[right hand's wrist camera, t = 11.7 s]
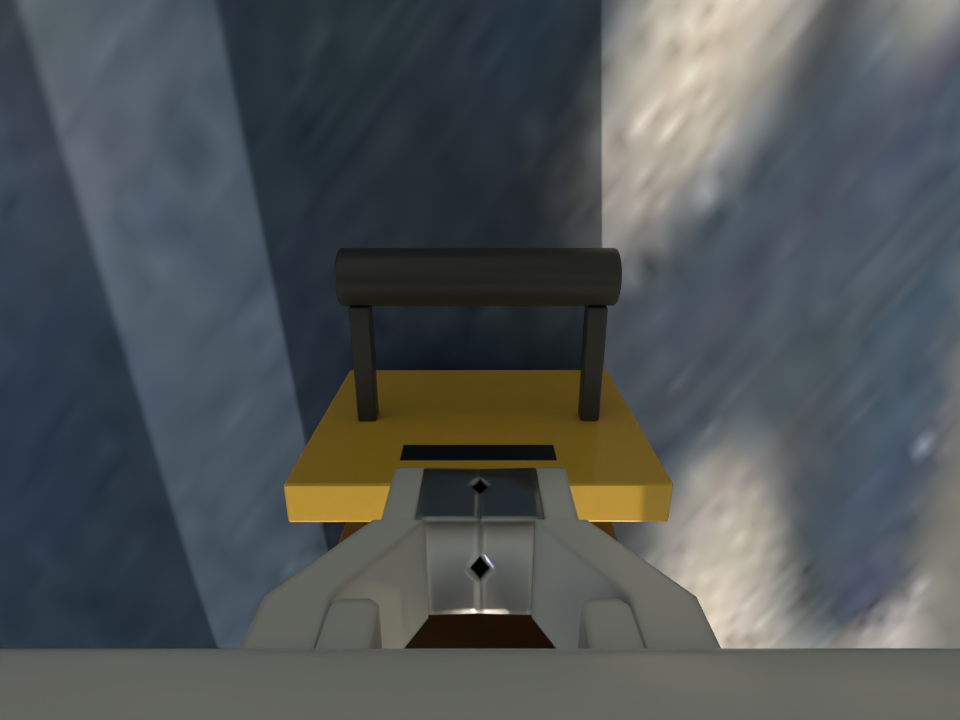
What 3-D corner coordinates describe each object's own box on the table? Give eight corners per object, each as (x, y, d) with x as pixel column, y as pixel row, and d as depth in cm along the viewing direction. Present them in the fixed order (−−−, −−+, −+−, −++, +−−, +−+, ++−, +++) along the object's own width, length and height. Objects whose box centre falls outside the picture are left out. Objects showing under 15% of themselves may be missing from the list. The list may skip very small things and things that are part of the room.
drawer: (337, 229, 21) (253, 276, 13) (619, 229, 21) (701, 277, 13) (379, 718, 29) (343, 923, 21) (578, 718, 29) (614, 922, 21)
